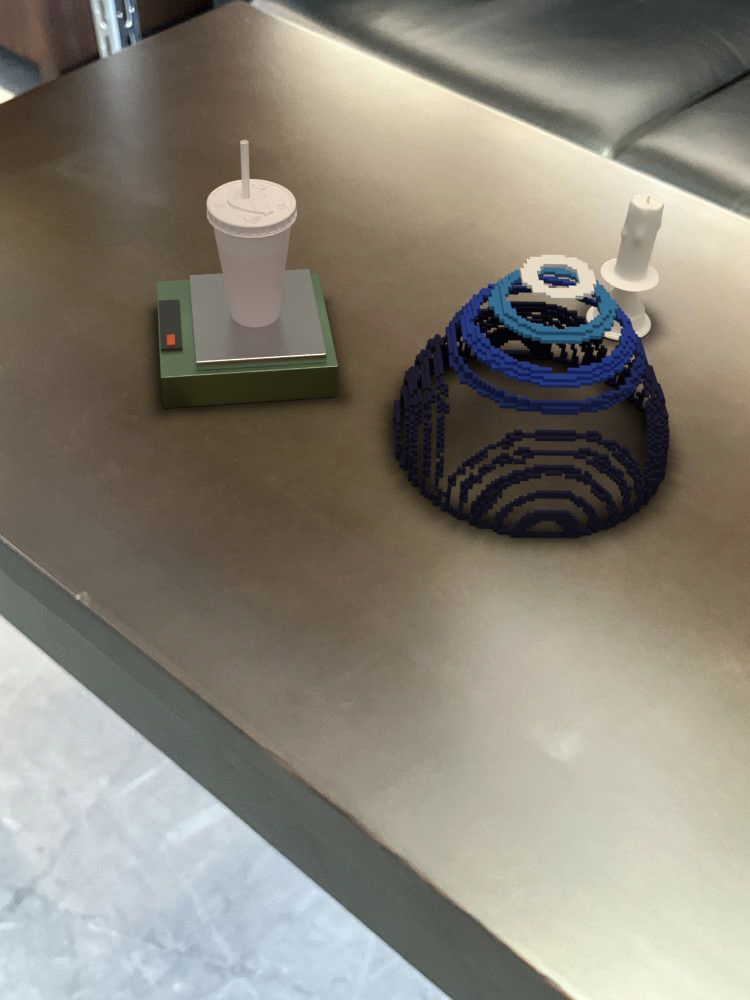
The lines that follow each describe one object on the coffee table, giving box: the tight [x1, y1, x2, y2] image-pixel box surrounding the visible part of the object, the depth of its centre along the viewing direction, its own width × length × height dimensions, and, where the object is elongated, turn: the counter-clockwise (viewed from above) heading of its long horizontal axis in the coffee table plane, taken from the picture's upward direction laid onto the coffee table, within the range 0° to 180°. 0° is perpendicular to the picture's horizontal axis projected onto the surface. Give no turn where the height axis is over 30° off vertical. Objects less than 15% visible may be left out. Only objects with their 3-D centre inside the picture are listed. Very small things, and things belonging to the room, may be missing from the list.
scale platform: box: [188, 268, 327, 370], centre depth 88 cm, size 10×11×1 cm
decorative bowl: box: [392, 254, 671, 538], centre depth 80 cm, size 20×20×14 cm
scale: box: [156, 272, 339, 409], centre depth 89 cm, size 13×12×3 cm
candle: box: [585, 193, 665, 341], centre depth 91 cm, size 5×5×12 cm
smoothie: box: [206, 139, 298, 328], centre depth 83 cm, size 6×6×14 cm
